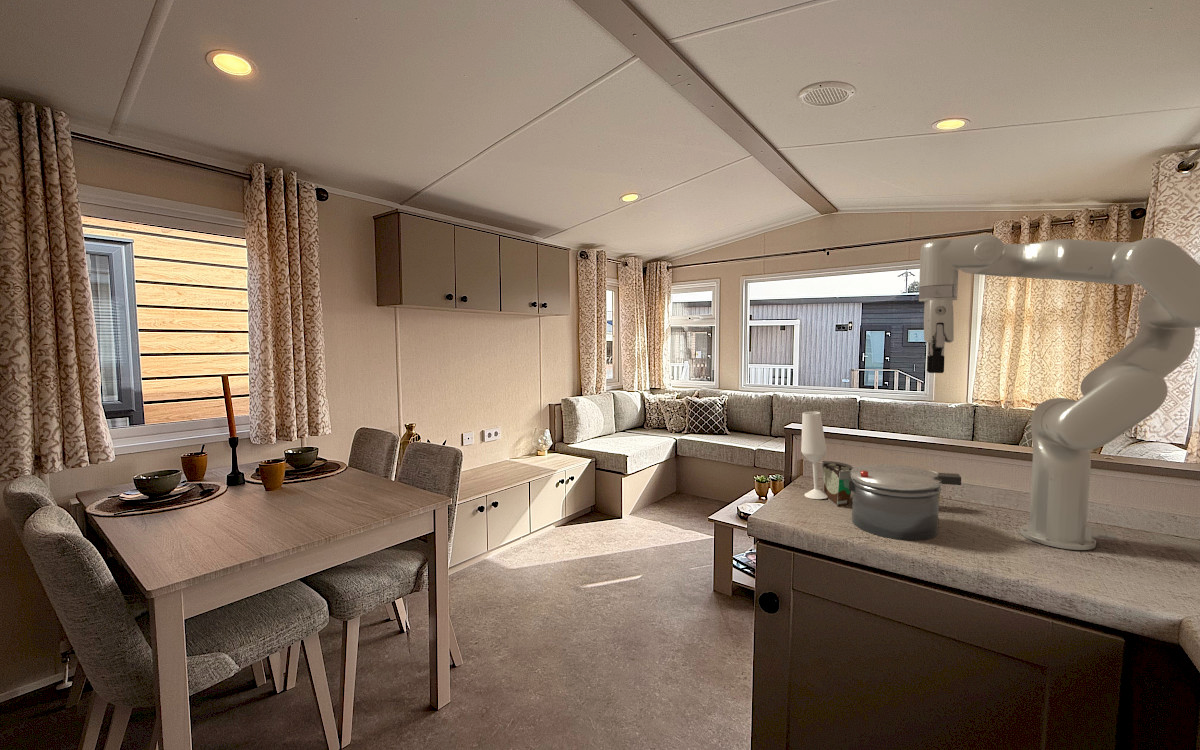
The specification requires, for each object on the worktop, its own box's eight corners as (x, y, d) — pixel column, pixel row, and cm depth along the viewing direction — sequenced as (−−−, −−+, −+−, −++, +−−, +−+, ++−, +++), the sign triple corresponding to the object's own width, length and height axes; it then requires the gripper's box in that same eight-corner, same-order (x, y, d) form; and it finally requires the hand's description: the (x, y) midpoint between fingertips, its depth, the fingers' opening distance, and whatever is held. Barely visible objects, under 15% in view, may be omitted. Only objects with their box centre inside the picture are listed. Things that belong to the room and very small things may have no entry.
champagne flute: (825, 491, 149) (820, 410, 147) (832, 498, 142) (827, 414, 141) (801, 492, 150) (796, 411, 148) (807, 499, 144) (801, 415, 142)
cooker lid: (952, 472, 125) (952, 463, 125) (968, 495, 108) (968, 484, 108) (850, 466, 135) (850, 458, 135) (850, 486, 118) (850, 476, 118)
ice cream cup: (863, 508, 136) (864, 471, 135) (839, 508, 136) (840, 472, 135) (842, 494, 148) (843, 460, 147) (821, 494, 148) (822, 460, 147)
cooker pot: (933, 518, 128) (934, 475, 127) (945, 546, 111) (947, 497, 110) (848, 508, 136) (849, 467, 135) (848, 532, 119) (849, 487, 119)
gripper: (963, 291, 111) (960, 375, 112) (951, 295, 124) (948, 370, 125) (923, 293, 114) (920, 374, 115) (915, 297, 127) (913, 370, 129)
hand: (935, 372), depth 120 cm, fingers closed
